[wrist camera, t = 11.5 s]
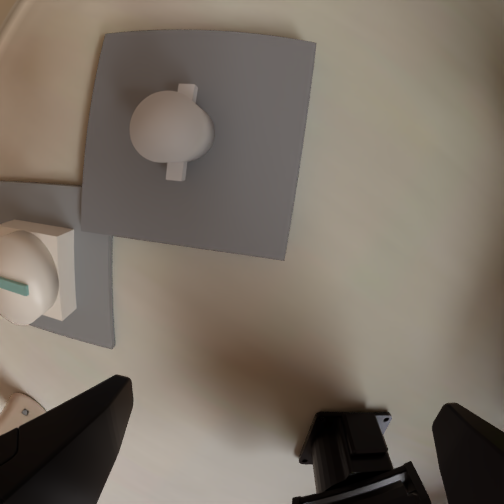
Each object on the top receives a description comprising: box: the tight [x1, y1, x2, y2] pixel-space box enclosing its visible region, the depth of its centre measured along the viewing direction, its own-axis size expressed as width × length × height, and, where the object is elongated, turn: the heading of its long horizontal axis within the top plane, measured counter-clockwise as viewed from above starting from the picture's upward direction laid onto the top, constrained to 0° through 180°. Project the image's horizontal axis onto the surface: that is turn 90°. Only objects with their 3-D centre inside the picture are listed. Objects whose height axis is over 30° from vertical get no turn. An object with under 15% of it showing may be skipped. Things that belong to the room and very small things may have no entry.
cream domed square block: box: [0, 219, 77, 326], centre depth 17 cm, size 6×6×4 cm
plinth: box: [81, 30, 316, 261], centre depth 15 cm, size 12×12×6 cm
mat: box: [0, 181, 115, 349], centre depth 19 cm, size 11×11×1 cm
